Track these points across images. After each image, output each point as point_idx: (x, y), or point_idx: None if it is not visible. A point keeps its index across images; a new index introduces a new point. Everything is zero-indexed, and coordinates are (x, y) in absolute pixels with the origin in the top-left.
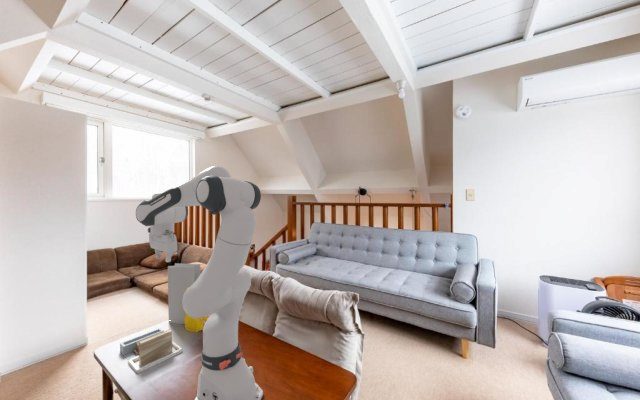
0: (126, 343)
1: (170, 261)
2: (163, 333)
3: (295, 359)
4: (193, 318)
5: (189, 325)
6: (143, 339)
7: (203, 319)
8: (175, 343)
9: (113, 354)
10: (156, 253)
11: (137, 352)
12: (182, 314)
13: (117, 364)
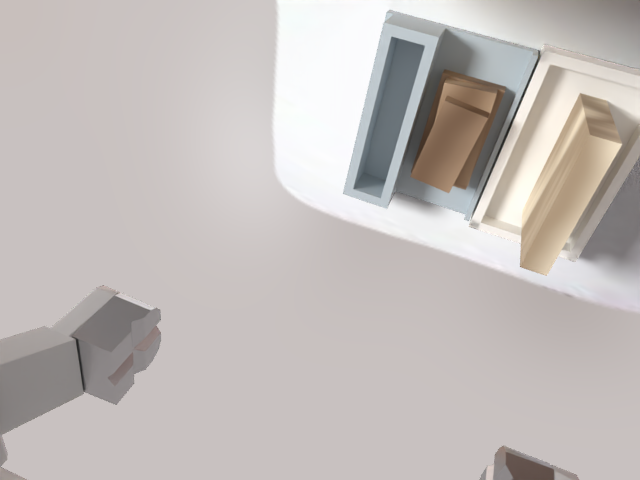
0: (358, 173)
1: (575, 476)
2: (590, 180)
3: None
4: None
5: None
6: (423, 149)
7: None
8: (586, 61)
9: (335, 182)
10: (47, 410)
11: (455, 183)
12: None
13: (420, 220)
